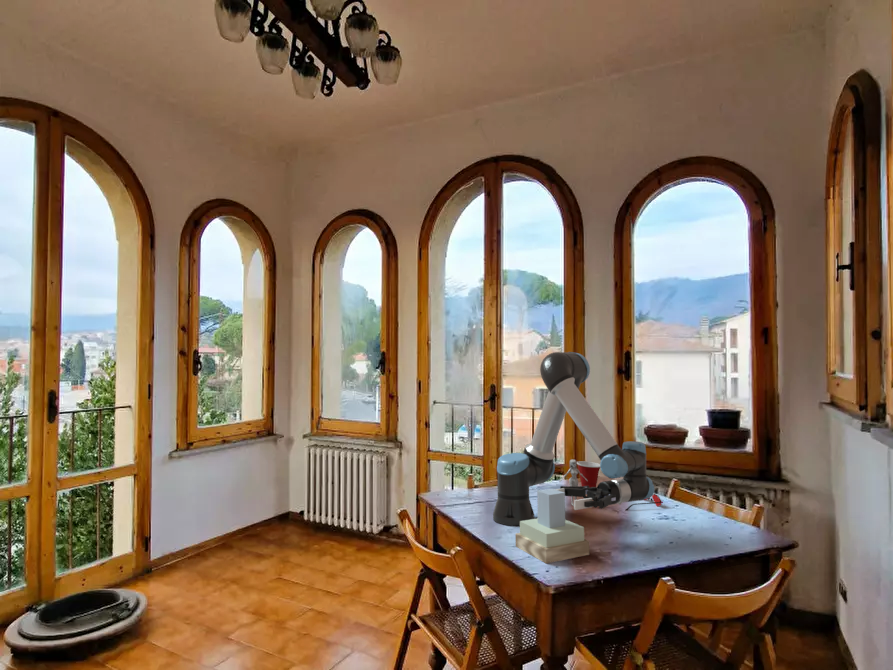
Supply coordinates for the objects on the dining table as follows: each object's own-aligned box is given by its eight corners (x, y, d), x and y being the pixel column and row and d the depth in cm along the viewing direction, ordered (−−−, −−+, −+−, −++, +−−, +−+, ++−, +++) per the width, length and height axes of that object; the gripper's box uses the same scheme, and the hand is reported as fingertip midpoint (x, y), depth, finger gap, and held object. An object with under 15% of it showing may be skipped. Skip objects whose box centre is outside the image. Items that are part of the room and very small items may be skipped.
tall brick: (537, 522, 169) (537, 490, 170) (553, 520, 172) (552, 488, 172) (549, 528, 164) (549, 495, 164) (565, 525, 166) (564, 492, 167)
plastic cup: (602, 493, 237) (602, 465, 237) (577, 492, 239) (577, 464, 239) (600, 487, 247) (600, 461, 248) (576, 486, 250) (576, 460, 250)
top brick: (519, 534, 171) (519, 521, 171) (555, 527, 177) (555, 515, 177) (546, 548, 158) (546, 534, 158) (584, 540, 164) (584, 527, 165)
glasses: (663, 509, 214) (663, 496, 214) (625, 511, 210) (625, 498, 210) (643, 499, 227) (643, 487, 227) (607, 502, 224) (607, 490, 224)
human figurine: (561, 506, 217) (560, 461, 217) (558, 503, 220) (557, 459, 221) (589, 505, 218) (589, 460, 219) (586, 502, 222) (585, 458, 223)
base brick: (515, 546, 171) (515, 533, 171) (556, 538, 178) (556, 526, 178) (546, 563, 157) (546, 549, 157) (589, 554, 164) (589, 541, 164)
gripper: (641, 513, 167) (587, 522, 158) (587, 495, 189) (537, 502, 180) (641, 488, 167) (586, 496, 158) (587, 473, 190) (537, 479, 181)
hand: (560, 499), depth 169 cm, fingers open, 13 cm apart
